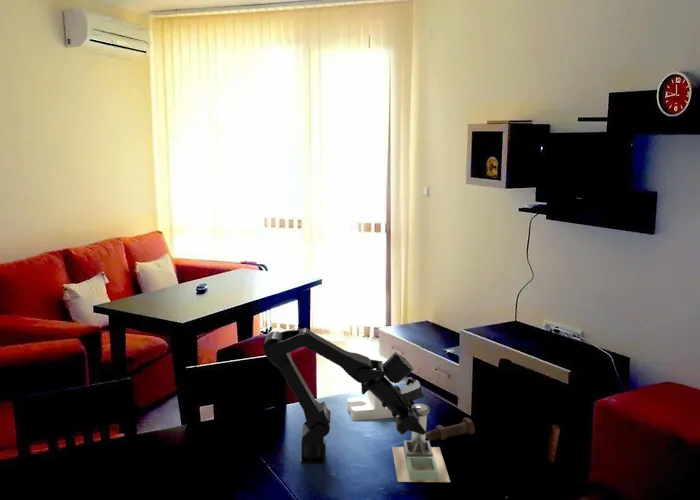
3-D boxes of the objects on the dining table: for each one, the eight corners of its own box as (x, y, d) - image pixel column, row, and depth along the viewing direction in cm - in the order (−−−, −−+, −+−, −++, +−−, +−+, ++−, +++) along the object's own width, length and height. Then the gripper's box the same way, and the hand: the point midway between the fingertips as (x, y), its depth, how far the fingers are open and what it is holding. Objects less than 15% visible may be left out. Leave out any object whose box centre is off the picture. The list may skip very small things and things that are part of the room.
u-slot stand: (346, 408, 211) (347, 377, 209) (398, 404, 215) (399, 374, 213) (352, 421, 202) (353, 390, 200) (406, 417, 206) (407, 386, 204)
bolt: (426, 446, 191) (468, 436, 196) (433, 446, 186) (476, 436, 192) (421, 427, 192) (463, 417, 198) (428, 426, 188) (472, 416, 193)
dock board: (397, 485, 167) (397, 481, 167) (391, 449, 185) (391, 446, 184) (450, 485, 167) (450, 482, 167) (439, 450, 185) (439, 447, 185)
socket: (409, 480, 167) (409, 471, 167) (406, 464, 175) (406, 456, 174) (437, 480, 168) (438, 471, 167) (433, 465, 175) (434, 456, 175)
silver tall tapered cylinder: (409, 457, 177) (412, 411, 174) (407, 447, 182) (409, 402, 180) (428, 457, 177) (430, 411, 175) (425, 447, 183) (428, 403, 180)
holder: (406, 461, 176) (406, 453, 176) (403, 448, 184) (403, 440, 183) (432, 462, 177) (432, 454, 176) (428, 448, 184) (429, 440, 183)
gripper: (411, 388, 166) (450, 427, 168) (404, 361, 184) (439, 397, 187) (380, 415, 167) (419, 453, 170) (376, 386, 185) (411, 421, 188)
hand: (423, 429), depth 179 cm, fingers closed on silver tall tapered cylinder, 4 cm apart
